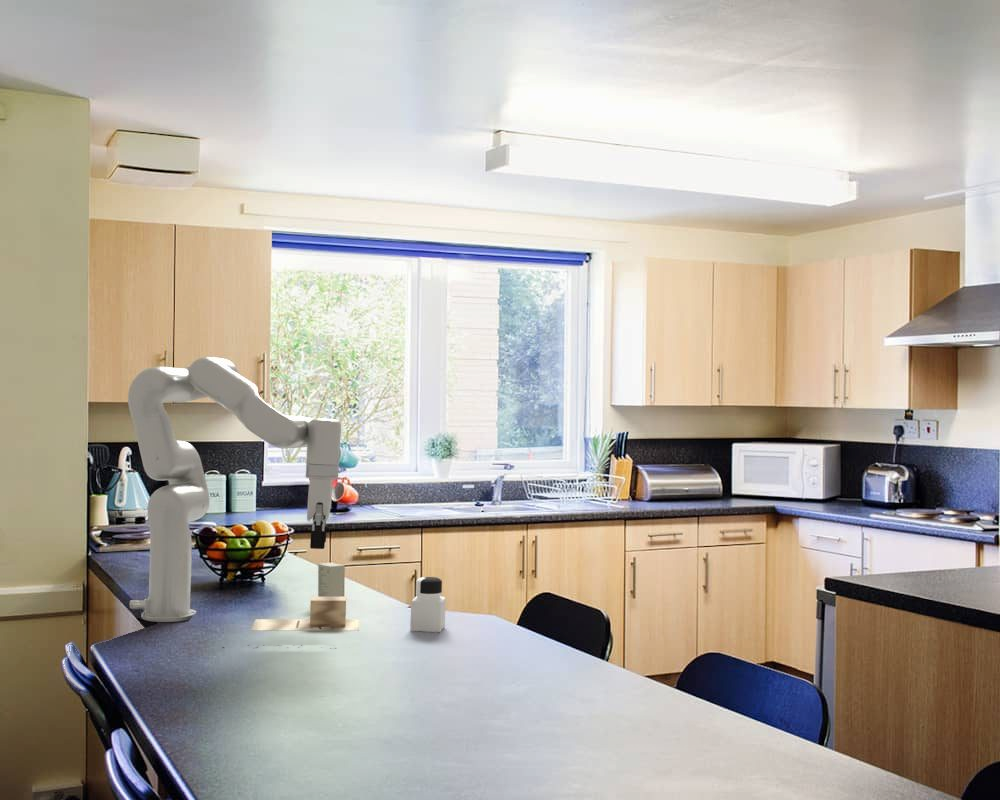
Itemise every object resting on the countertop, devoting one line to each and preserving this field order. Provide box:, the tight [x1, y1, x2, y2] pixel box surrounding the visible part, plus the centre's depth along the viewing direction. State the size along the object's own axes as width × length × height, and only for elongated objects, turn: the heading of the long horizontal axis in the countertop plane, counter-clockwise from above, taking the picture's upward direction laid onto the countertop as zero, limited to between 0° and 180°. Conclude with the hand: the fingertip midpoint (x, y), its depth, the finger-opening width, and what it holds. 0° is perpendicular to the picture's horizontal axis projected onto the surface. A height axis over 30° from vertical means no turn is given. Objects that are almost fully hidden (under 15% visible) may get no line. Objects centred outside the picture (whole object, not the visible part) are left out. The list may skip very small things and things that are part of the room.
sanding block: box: [309, 596, 347, 627], centre depth 243 cm, size 8×5×6 cm, turn 98°
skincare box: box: [317, 562, 346, 597], centre depth 263 cm, size 6×4×12 cm
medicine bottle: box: [409, 576, 447, 633], centre depth 247 cm, size 7×7×12 cm
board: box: [250, 618, 360, 631], centre depth 242 cm, size 24×12×1 cm, turn 98°
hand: (318, 545), depth 244 cm, fingers open, 9 cm apart
